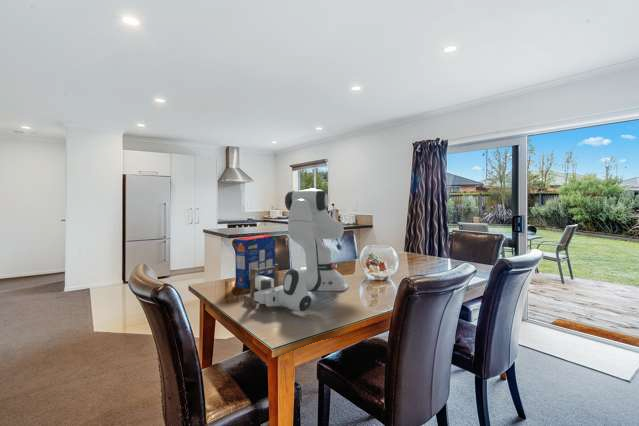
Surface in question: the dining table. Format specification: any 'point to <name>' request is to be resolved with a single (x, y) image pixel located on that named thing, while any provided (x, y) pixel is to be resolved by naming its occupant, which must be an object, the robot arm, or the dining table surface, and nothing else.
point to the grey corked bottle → (265, 284)
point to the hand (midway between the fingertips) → (264, 289)
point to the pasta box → (253, 257)
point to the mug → (260, 278)
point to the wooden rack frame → (250, 297)
